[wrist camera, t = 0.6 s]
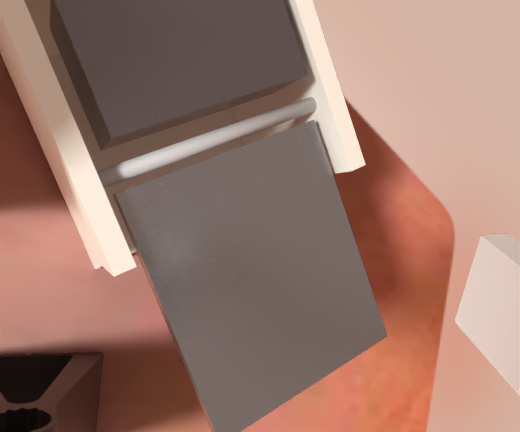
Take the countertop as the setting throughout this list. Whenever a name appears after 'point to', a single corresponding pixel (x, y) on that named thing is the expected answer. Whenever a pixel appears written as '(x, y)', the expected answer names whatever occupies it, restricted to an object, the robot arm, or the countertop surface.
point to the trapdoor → (225, 198)
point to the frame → (163, 142)
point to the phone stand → (50, 392)
